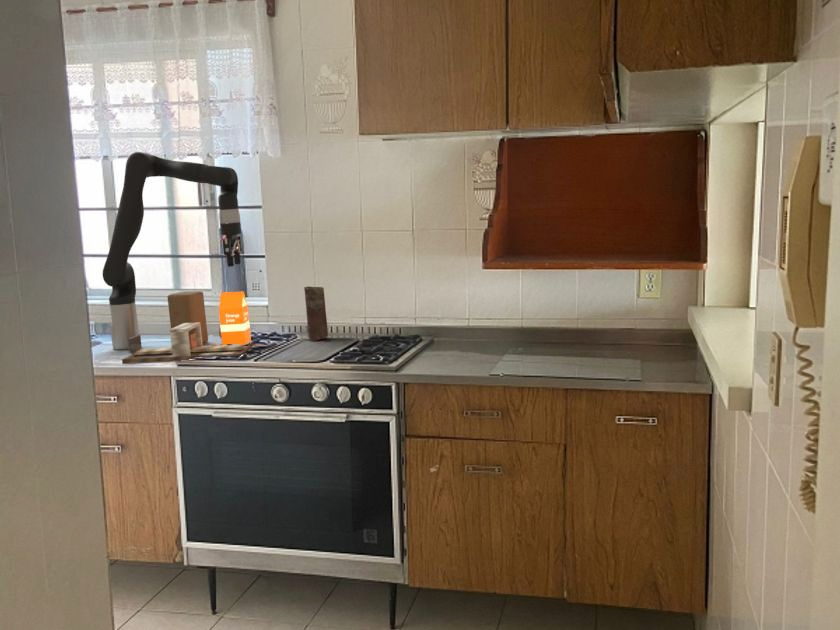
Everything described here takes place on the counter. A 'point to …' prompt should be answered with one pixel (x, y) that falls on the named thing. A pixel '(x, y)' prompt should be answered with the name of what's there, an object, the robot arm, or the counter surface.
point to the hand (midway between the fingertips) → (234, 265)
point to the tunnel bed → (182, 347)
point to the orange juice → (234, 318)
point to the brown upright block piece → (316, 313)
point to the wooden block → (188, 310)
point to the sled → (137, 348)
